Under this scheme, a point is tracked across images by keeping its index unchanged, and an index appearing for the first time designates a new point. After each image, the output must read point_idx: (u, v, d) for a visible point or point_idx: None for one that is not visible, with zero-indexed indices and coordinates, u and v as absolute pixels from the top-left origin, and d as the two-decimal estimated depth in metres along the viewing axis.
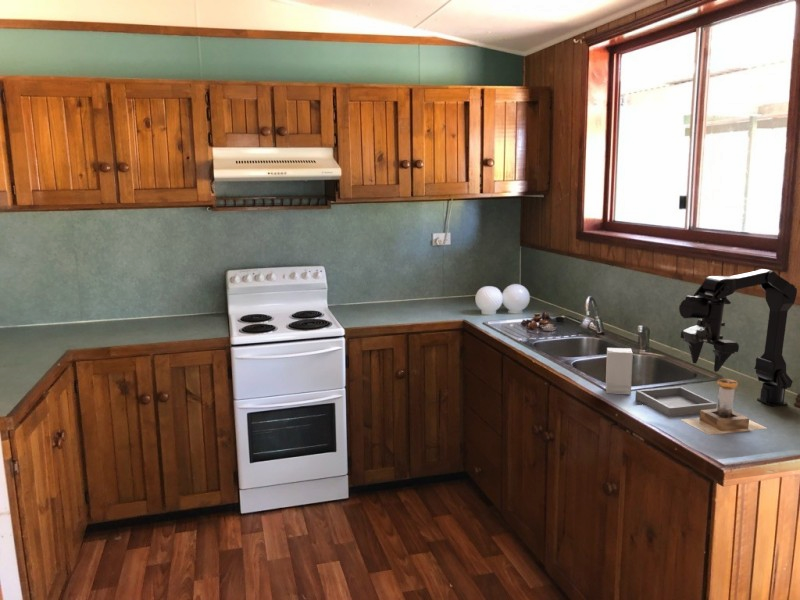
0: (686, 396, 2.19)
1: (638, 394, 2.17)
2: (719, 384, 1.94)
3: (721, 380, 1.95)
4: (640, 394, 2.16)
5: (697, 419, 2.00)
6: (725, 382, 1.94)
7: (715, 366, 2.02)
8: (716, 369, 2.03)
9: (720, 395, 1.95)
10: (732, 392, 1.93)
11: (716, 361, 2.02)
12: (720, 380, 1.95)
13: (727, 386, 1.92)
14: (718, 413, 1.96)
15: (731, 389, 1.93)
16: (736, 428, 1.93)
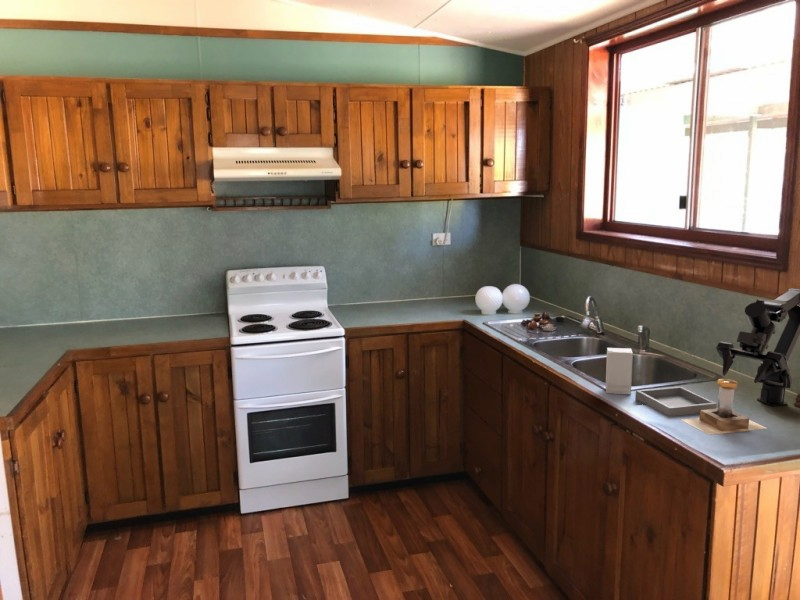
0: (686, 396, 2.19)
1: (638, 394, 2.17)
2: (719, 384, 1.94)
3: (721, 380, 1.95)
4: (640, 394, 2.16)
5: (697, 419, 2.00)
6: (725, 382, 1.94)
7: (757, 376, 1.96)
8: (757, 380, 1.96)
9: (720, 395, 1.95)
10: (732, 392, 1.93)
11: (761, 371, 1.96)
12: (720, 380, 1.95)
13: (727, 386, 1.92)
14: (718, 413, 1.96)
15: (731, 389, 1.93)
16: (736, 428, 1.93)
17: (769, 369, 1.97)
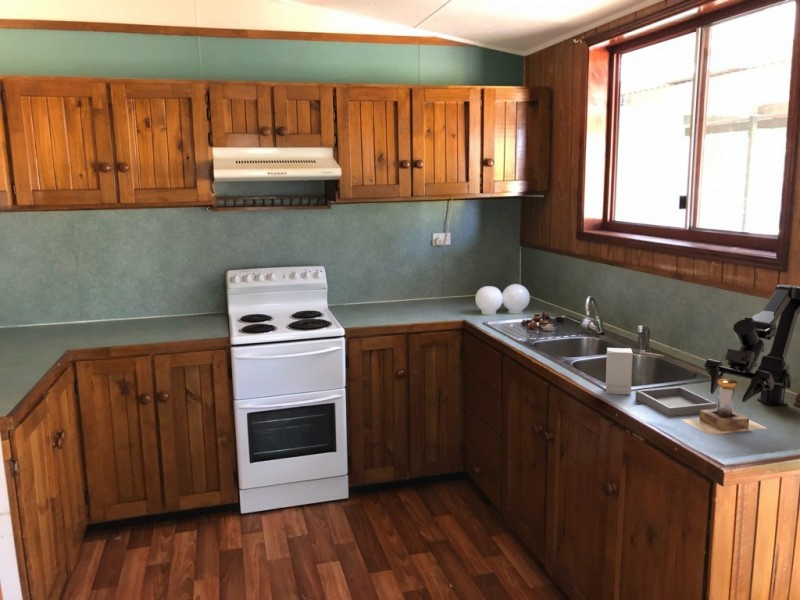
0: (686, 396, 2.19)
1: (638, 394, 2.17)
2: (719, 384, 1.94)
3: (721, 380, 1.95)
4: (640, 394, 2.16)
5: (697, 419, 2.00)
6: (725, 382, 1.94)
7: (746, 395, 1.92)
8: (745, 398, 1.92)
9: (720, 395, 1.95)
10: (732, 392, 1.93)
11: (749, 390, 1.92)
12: (720, 380, 1.95)
13: (727, 386, 1.92)
14: (718, 413, 1.96)
15: (731, 389, 1.93)
16: (736, 428, 1.93)
17: (757, 388, 1.94)
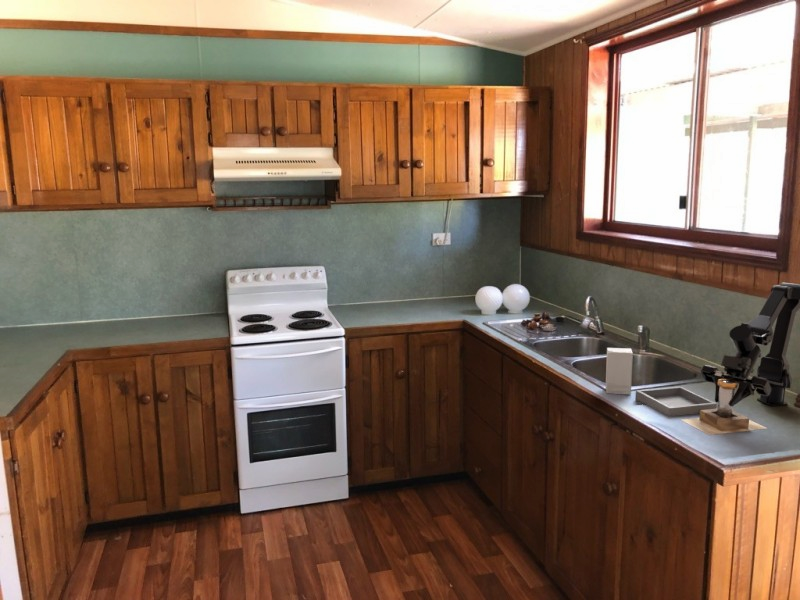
0: (686, 396, 2.19)
1: (638, 394, 2.17)
2: (719, 384, 1.94)
3: (721, 380, 1.95)
4: (640, 394, 2.16)
5: (697, 419, 2.00)
6: (725, 382, 1.94)
7: (733, 399, 1.93)
8: (733, 403, 1.93)
9: (720, 395, 1.95)
10: (732, 392, 1.93)
11: (737, 394, 1.93)
12: (720, 380, 1.95)
13: (727, 386, 1.92)
14: (718, 413, 1.96)
15: (731, 389, 1.93)
16: (736, 428, 1.93)
17: (745, 392, 1.94)
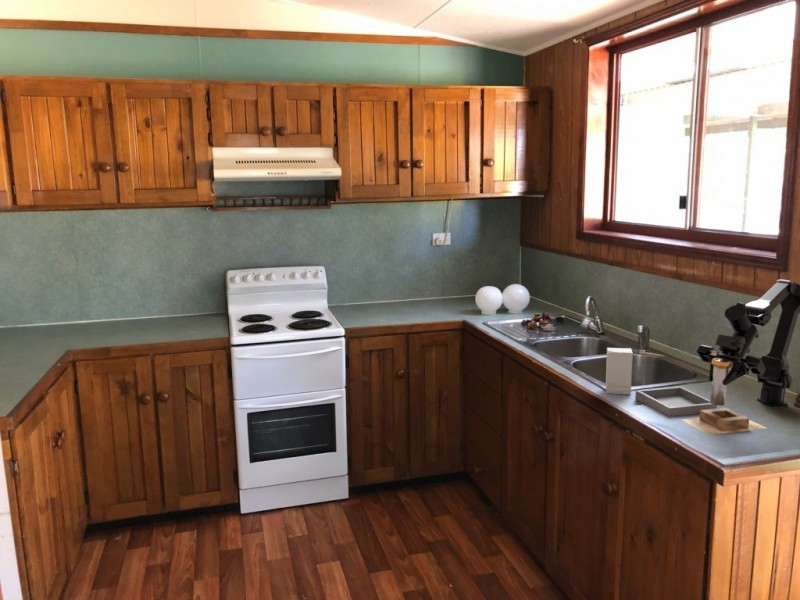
0: (686, 396, 2.19)
1: (638, 394, 2.17)
2: (713, 363, 1.95)
3: (715, 359, 1.96)
4: (640, 394, 2.16)
5: (697, 419, 2.00)
6: (719, 361, 1.94)
7: (727, 378, 1.94)
8: (726, 382, 1.94)
9: (714, 374, 1.96)
10: (726, 371, 1.94)
11: (731, 373, 1.94)
12: (714, 359, 1.96)
13: (720, 365, 1.93)
14: (712, 392, 1.97)
15: (725, 368, 1.94)
16: (736, 428, 1.93)
17: (740, 371, 1.95)
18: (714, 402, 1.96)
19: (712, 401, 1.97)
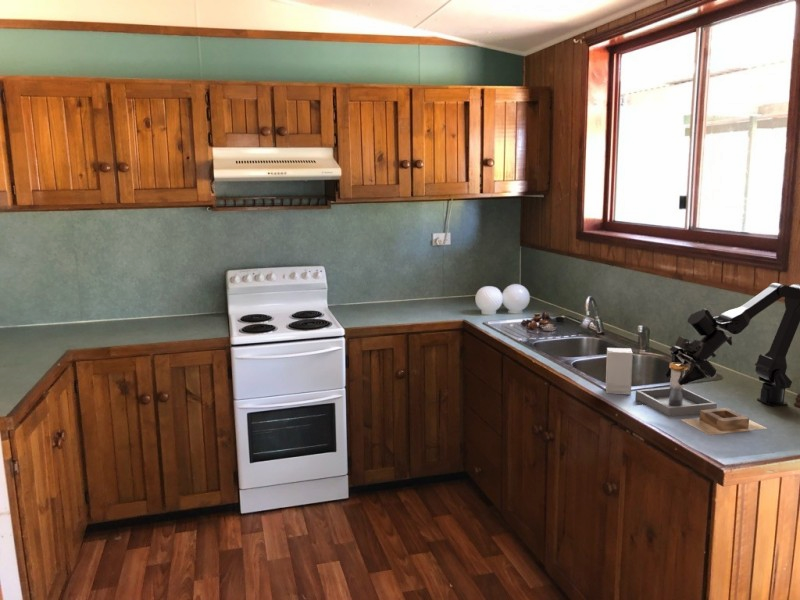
0: (686, 396, 2.19)
1: (638, 394, 2.17)
2: None
3: (674, 363, 2.13)
4: (640, 394, 2.16)
5: (697, 419, 2.00)
6: (674, 364, 2.11)
7: (682, 378, 2.07)
8: (681, 382, 2.07)
9: None
10: (679, 374, 2.10)
11: (686, 374, 2.06)
12: (673, 363, 2.13)
13: (673, 367, 2.10)
14: (669, 393, 2.13)
15: (678, 371, 2.10)
16: (736, 428, 1.93)
17: (698, 374, 2.06)
18: (669, 402, 2.13)
19: (669, 401, 2.13)
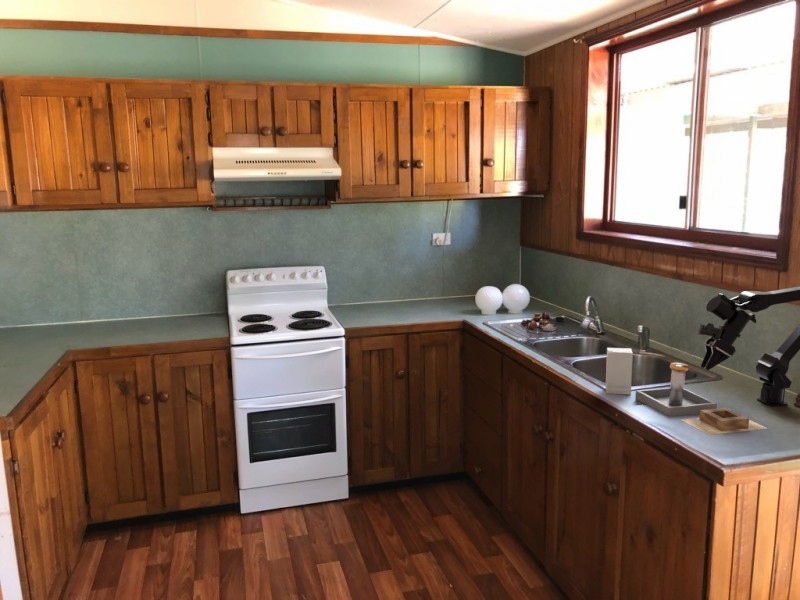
0: (686, 396, 2.19)
1: (638, 394, 2.17)
2: (670, 366, 2.12)
3: (675, 363, 2.12)
4: (640, 394, 2.16)
5: (697, 419, 2.00)
6: (675, 365, 2.10)
7: (707, 363, 2.10)
8: (707, 366, 2.09)
9: (671, 376, 2.12)
10: (680, 375, 2.09)
11: (710, 358, 2.09)
12: (674, 363, 2.12)
13: (674, 368, 2.09)
14: None
15: (678, 371, 2.09)
16: (736, 428, 1.93)
17: (722, 356, 2.07)
18: (669, 402, 2.13)
19: (669, 401, 2.13)
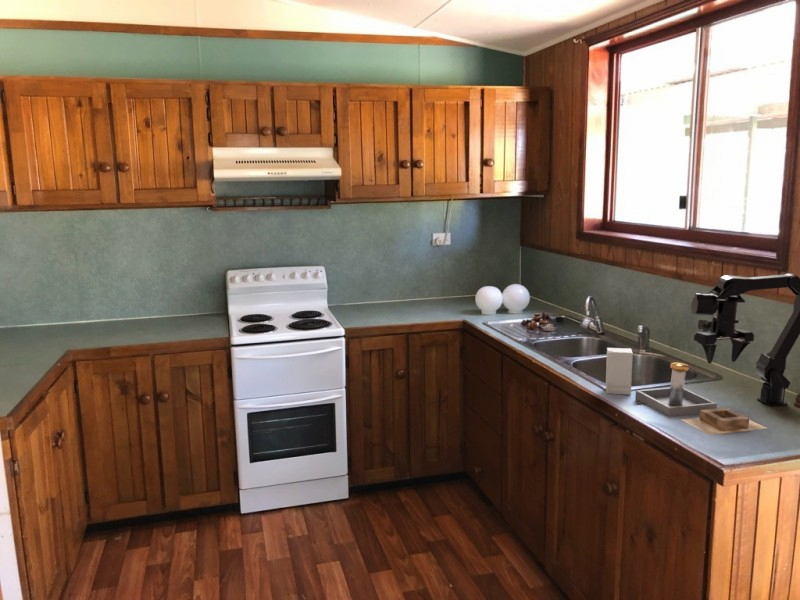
0: (686, 396, 2.19)
1: (638, 394, 2.17)
2: None
3: (675, 363, 2.12)
4: (640, 394, 2.16)
5: (697, 419, 2.00)
6: (675, 364, 2.11)
7: None
8: (707, 360, 2.16)
9: None
10: (680, 374, 2.09)
11: None
12: (674, 363, 2.12)
13: (674, 368, 2.09)
14: None
15: (679, 371, 2.09)
16: (736, 428, 1.93)
17: (709, 346, 2.14)
18: (670, 402, 2.13)
19: (669, 401, 2.13)
